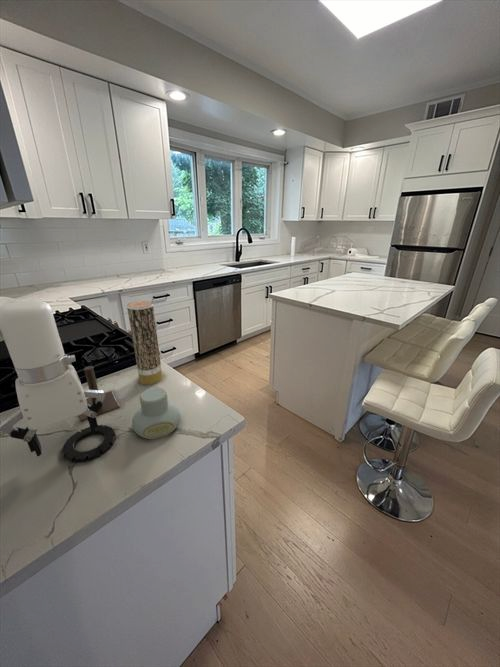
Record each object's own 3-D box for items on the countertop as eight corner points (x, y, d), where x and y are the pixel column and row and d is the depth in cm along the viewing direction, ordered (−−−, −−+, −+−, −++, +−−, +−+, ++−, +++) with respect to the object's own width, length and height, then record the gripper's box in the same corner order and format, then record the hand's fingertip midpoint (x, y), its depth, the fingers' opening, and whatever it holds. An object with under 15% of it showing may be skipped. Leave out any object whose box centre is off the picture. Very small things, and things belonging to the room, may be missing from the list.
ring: (68, 474, 55) (65, 467, 54) (62, 444, 62) (60, 437, 61) (121, 451, 60) (119, 444, 60) (110, 425, 68) (109, 419, 67)
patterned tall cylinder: (161, 374, 91) (152, 300, 81) (163, 384, 85) (153, 306, 75) (139, 377, 88) (127, 302, 79) (140, 389, 82) (126, 308, 73)
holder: (82, 425, 68) (69, 381, 63) (76, 406, 75) (65, 365, 70) (120, 411, 73) (112, 369, 68) (112, 394, 80) (104, 356, 75)
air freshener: (134, 447, 62) (127, 410, 58) (133, 423, 69) (127, 389, 65) (184, 434, 65) (180, 399, 62) (178, 413, 72) (175, 380, 69)
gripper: (92, 348, 58) (108, 414, 65) (-18, 375, 49) (15, 449, 55) (99, 362, 53) (116, 432, 59) (-23, 394, 43) (14, 474, 50)
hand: (67, 440), depth 57 cm, fingers open, 9 cm apart
